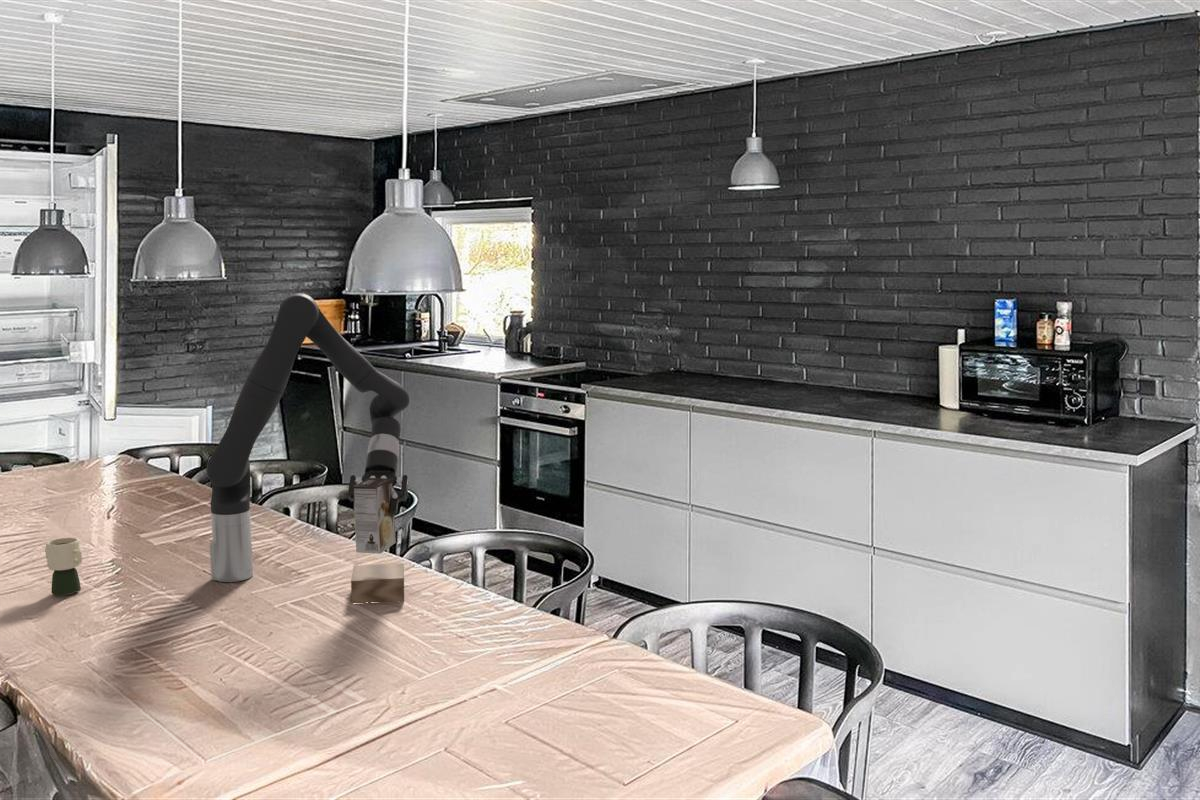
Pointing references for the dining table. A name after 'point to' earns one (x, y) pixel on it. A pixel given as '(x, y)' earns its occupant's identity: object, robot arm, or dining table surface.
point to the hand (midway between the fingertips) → (375, 515)
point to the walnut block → (377, 583)
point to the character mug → (64, 564)
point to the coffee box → (373, 515)
